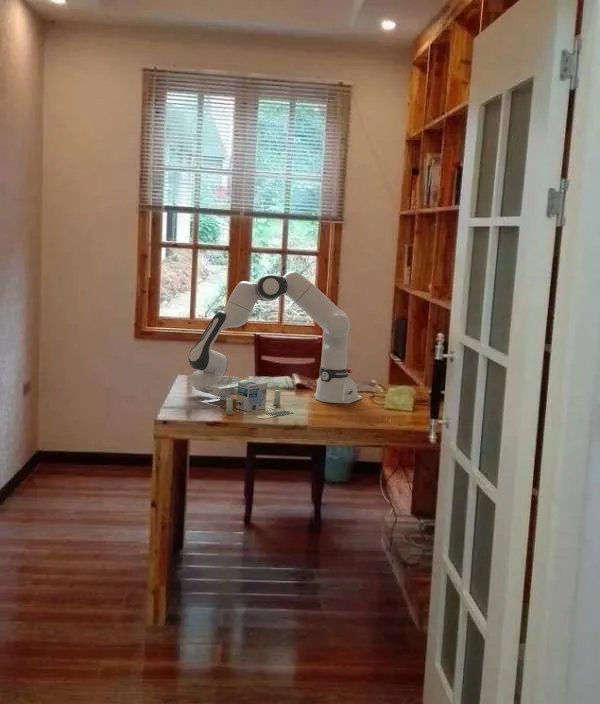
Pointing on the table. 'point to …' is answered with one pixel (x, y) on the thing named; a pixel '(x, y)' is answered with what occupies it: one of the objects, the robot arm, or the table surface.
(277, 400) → the trap lane
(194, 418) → the table surface
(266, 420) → the table surface
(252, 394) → the light bulb box
